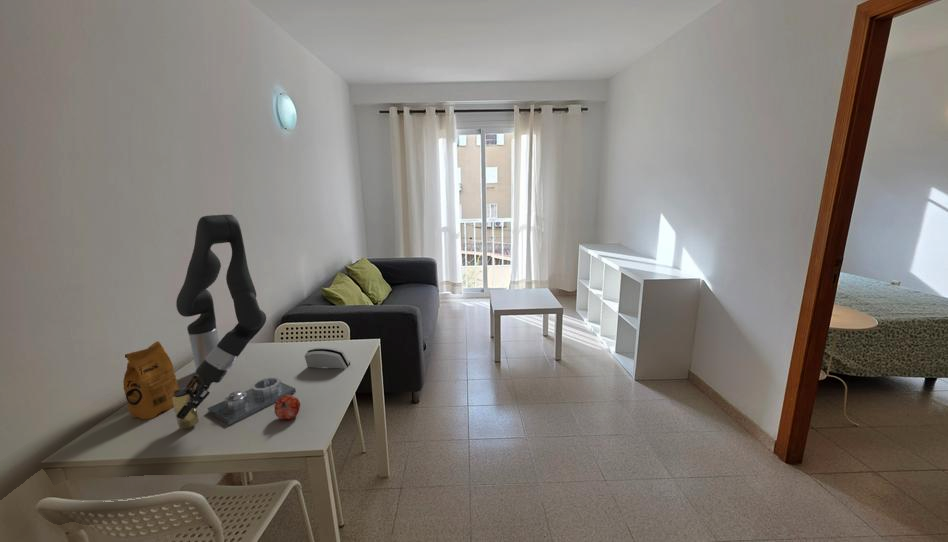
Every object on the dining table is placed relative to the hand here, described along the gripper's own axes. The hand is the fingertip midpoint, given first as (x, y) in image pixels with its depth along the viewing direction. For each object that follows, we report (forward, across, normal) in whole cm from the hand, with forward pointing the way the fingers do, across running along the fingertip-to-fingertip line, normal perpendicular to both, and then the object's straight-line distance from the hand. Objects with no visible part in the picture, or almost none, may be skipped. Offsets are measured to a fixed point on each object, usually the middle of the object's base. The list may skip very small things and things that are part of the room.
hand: (178, 413), depth 116 cm
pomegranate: (-14, +17, +22) cm, 31 cm away
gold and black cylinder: (+2, 0, +4) cm, 5 cm away
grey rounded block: (-30, -8, +38) cm, 49 cm away
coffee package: (+8, -21, +1) cm, 22 cm away
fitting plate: (-10, -2, +18) cm, 21 cm away
